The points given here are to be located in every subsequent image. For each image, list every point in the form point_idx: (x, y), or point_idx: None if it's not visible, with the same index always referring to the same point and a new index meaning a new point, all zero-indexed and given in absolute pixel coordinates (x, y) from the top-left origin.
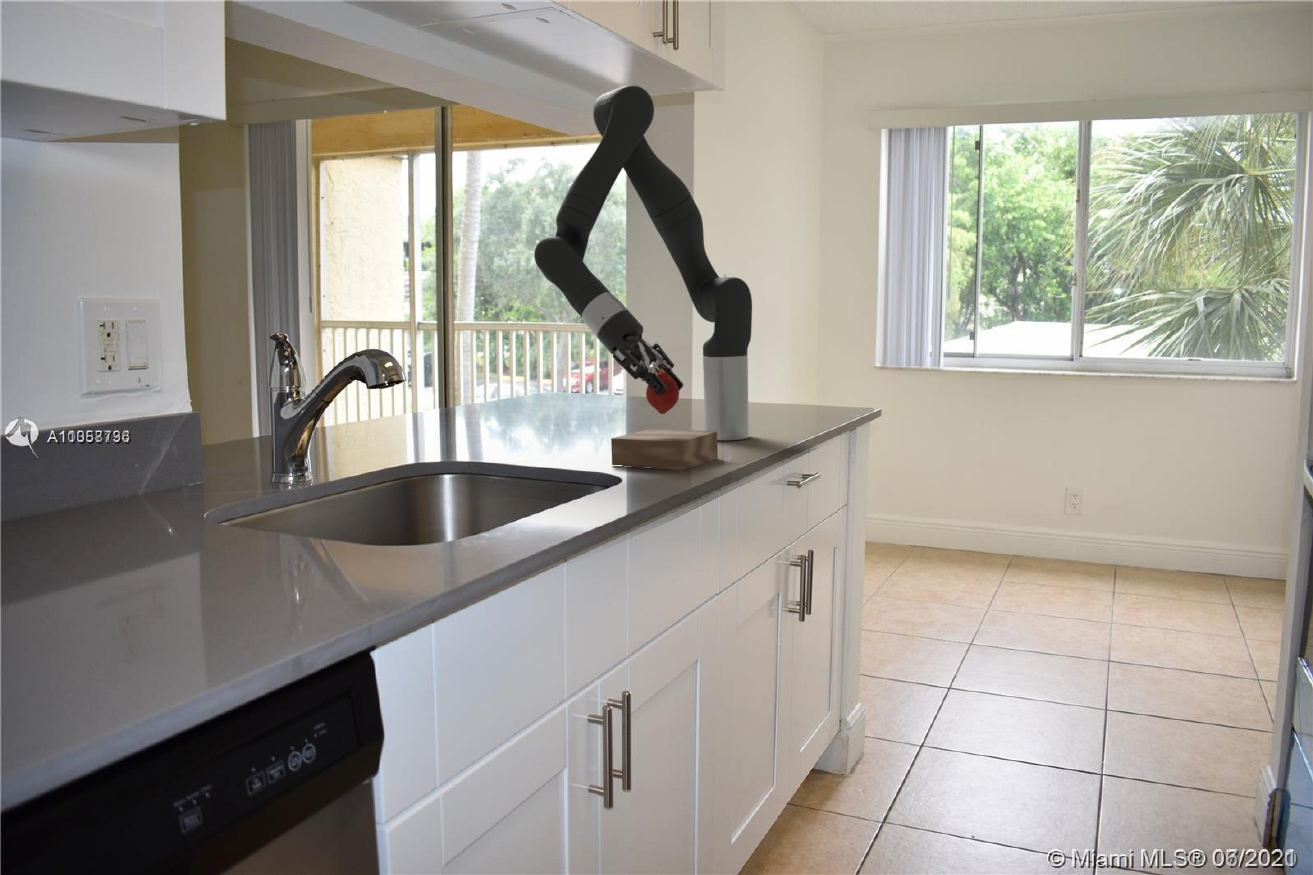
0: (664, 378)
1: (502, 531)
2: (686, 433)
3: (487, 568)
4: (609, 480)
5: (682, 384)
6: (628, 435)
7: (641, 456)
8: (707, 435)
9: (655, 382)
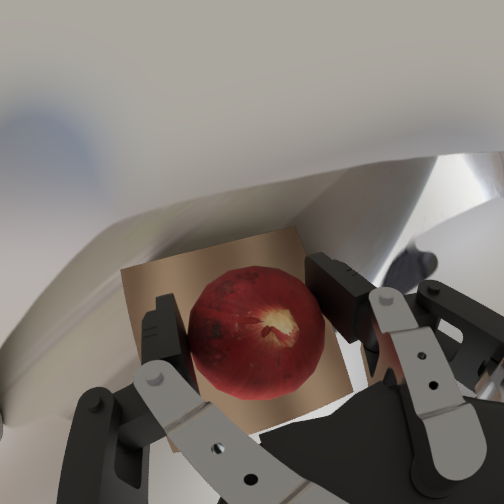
0: (288, 290)
1: (494, 194)
2: (185, 310)
3: (494, 155)
4: (400, 280)
5: (163, 295)
6: (298, 404)
7: None
8: (171, 257)
9: (356, 273)
